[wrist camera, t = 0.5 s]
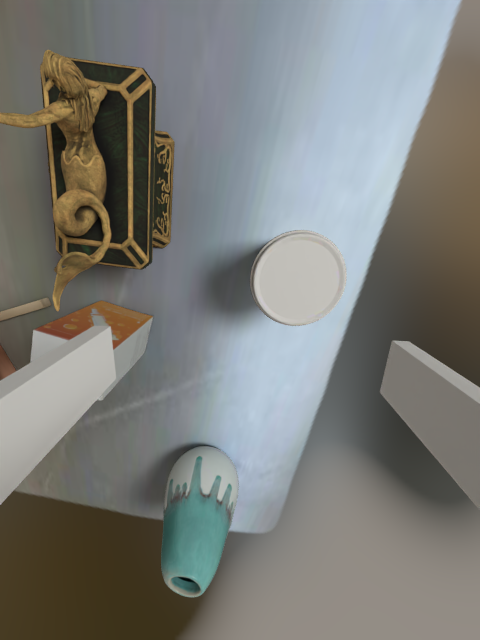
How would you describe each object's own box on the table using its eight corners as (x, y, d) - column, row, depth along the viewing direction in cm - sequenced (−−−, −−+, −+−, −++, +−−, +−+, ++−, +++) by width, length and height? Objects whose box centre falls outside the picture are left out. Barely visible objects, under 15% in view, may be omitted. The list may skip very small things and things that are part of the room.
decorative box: (100, 108, 31) (-118, -80, 13) (181, 119, 31) (84, -51, 13) (105, 275, 38) (-35, 317, 19) (173, 284, 38) (100, 333, 19)
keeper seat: (-28, 320, 40) (-65, 331, 35) (47, 297, 39) (19, 306, 34) (21, 399, 44) (-6, 418, 39) (91, 380, 43) (71, 399, 38)
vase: (181, 488, 50) (146, 621, 32) (169, 438, 46) (124, 558, 29) (242, 484, 49) (240, 618, 32) (235, 433, 45) (229, 553, 28)
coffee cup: (293, 311, 38) (313, 343, 27) (237, 280, 37) (232, 300, 26) (330, 253, 36) (369, 262, 24) (271, 218, 35) (283, 209, 23)
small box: (154, 315, 39) (111, 352, 27) (145, 352, 41) (101, 403, 29) (100, 298, 39) (30, 328, 26) (94, 337, 40) (26, 382, 28)
